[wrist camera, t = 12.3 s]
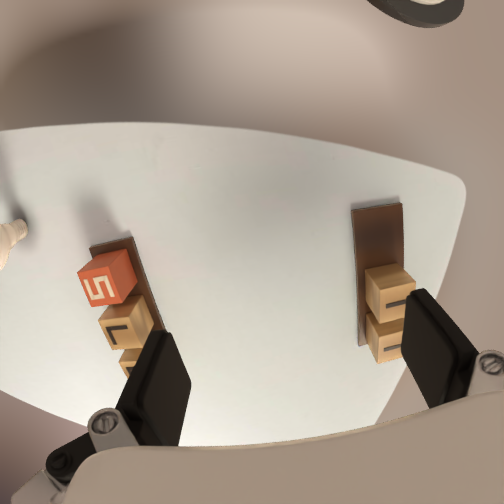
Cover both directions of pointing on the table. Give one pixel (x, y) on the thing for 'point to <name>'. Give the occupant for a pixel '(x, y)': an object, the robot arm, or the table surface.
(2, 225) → the lightbulb
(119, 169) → the table surface
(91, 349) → the table surface
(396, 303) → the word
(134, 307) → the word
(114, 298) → the tile
